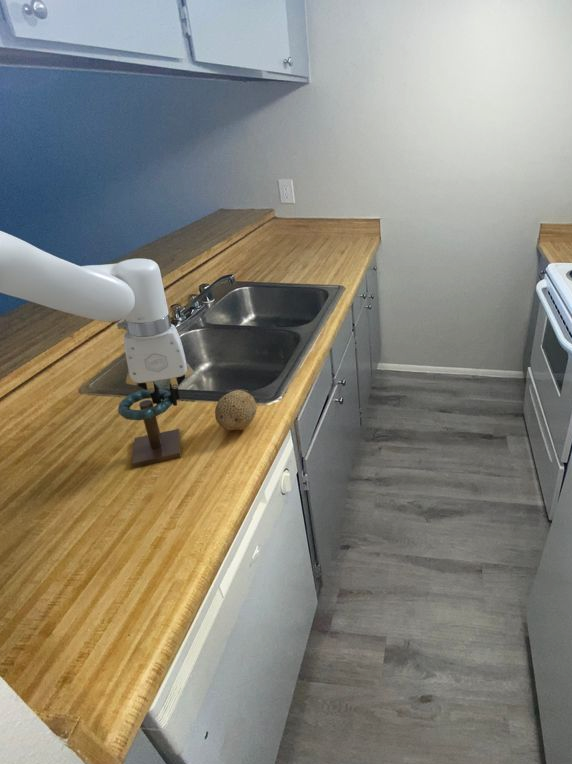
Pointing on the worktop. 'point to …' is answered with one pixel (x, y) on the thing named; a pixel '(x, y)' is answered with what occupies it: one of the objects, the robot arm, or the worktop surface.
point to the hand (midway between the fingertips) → (167, 403)
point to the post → (155, 442)
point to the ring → (145, 413)
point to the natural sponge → (235, 410)
